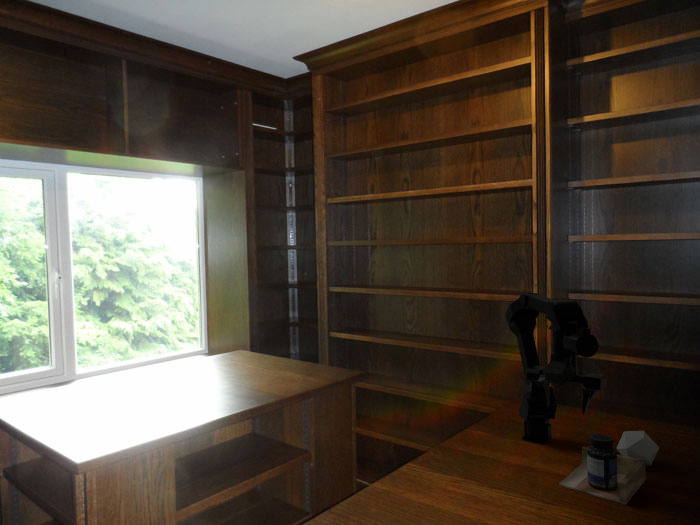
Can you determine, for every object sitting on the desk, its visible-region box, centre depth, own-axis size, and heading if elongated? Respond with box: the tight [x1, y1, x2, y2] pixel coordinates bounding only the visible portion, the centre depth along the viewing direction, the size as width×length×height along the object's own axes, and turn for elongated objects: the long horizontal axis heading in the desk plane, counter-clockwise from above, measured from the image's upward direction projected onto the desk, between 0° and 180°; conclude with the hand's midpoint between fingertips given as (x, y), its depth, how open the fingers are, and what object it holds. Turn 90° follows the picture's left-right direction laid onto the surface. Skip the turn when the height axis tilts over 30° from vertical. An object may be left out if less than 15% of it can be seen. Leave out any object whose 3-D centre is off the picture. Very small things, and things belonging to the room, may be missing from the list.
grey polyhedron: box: [615, 430, 660, 466], centre depth 129 cm, size 8×9×10 cm
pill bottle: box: [587, 433, 618, 491], centre depth 116 cm, size 6×6×11 cm
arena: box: [558, 446, 647, 505], centre depth 119 cm, size 14×16×4 cm
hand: (565, 410), depth 131 cm, fingers open, 9 cm apart
